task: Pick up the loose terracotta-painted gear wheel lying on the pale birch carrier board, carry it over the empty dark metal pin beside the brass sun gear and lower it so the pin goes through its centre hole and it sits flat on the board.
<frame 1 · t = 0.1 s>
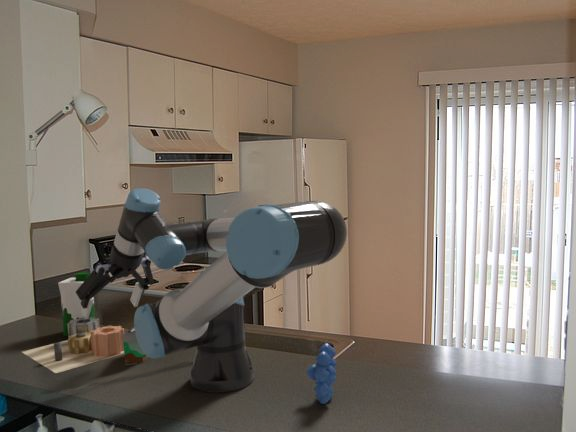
hand: (109, 309, 143), 15 cm above the table, tool tilted 35°, fingers open, 13 cm apart
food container: (143, 364, 146), on the table
planet gear: (108, 351, 152), point 1 cm above the table, touching carrier
grapes: (322, 399, 121), on the table
seated gear: (84, 341, 162), resting on carrier
milk carton: (80, 337, 171), on the table
carrier: (82, 355, 154), on the table
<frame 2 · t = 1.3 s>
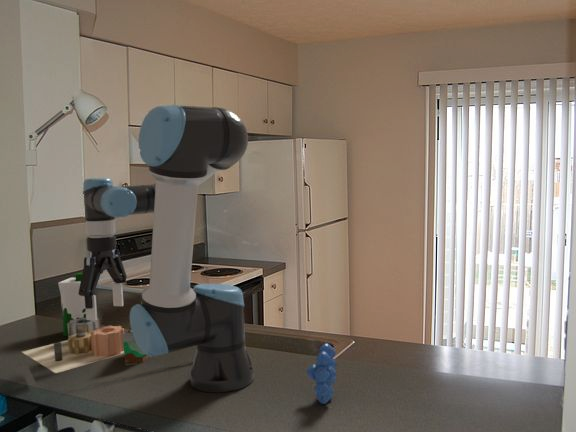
hand: (105, 312, 151), 12 cm above the table, tool pointing down, fingers open, 13 cm apart
nothing on the table moved.
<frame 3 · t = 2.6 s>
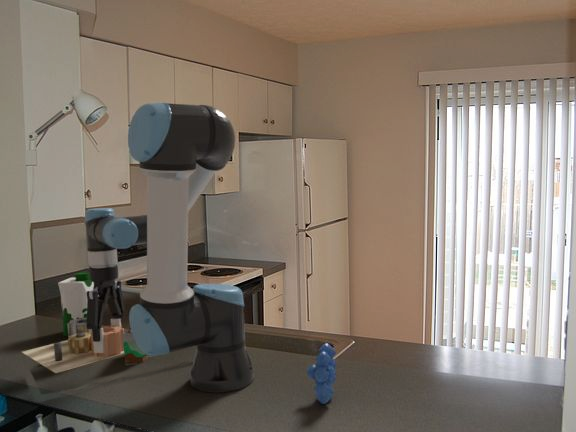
hand: (108, 346, 152), 3 cm above the table, tool pointing down, fingers closed on planet gear, 8 cm apart
planet gear: (108, 351, 152), point 2 cm above the table, touching carrier, gripper
everything else where it was.
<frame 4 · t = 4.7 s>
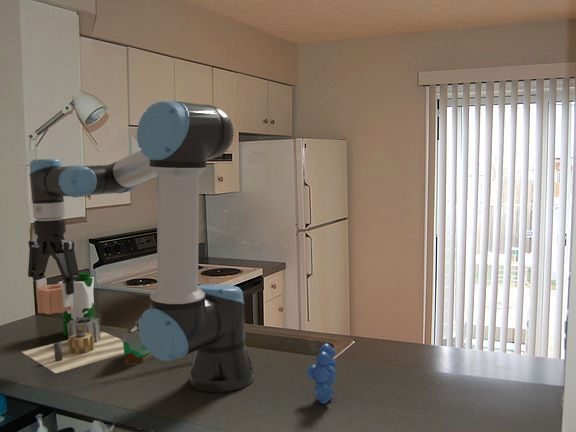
hand: (55, 304, 145), 16 cm above the table, tool pointing down, fingers closed on planet gear, 8 cm apart
planet gear: (55, 309, 145), point 15 cm above the table, touching gripper
everything else where it was.
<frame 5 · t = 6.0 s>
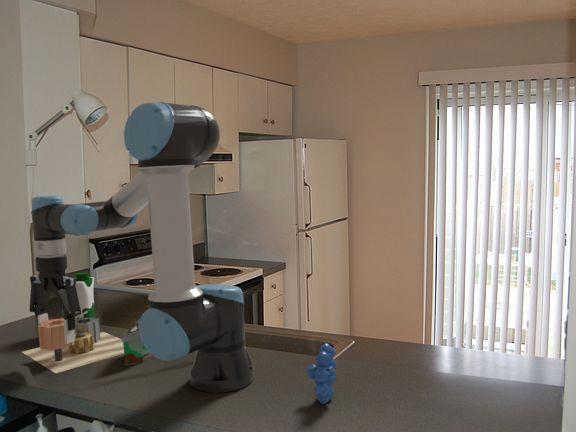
hand: (57, 340, 146), 7 cm above the table, tool pointing down, fingers closed on planet gear, 8 cm apart
planet gear: (57, 345, 146), point 6 cm above the table, touching gripper
everything else where it was.
when the fingers open (4 cm above the table, at t = 6.9 s): planet gear drops 1 cm, resting on carrier.
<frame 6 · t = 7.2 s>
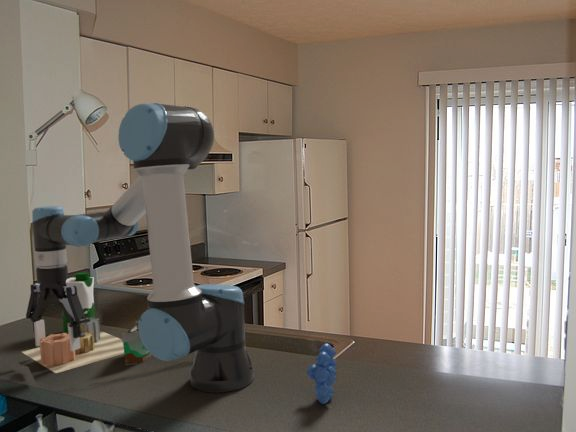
hand: (57, 347, 146), 5 cm above the table, tool pointing down, fingers open, 11 cm apart
planet gear: (58, 360, 146), point 1 cm above the table, touching carrier
everything else where it was.
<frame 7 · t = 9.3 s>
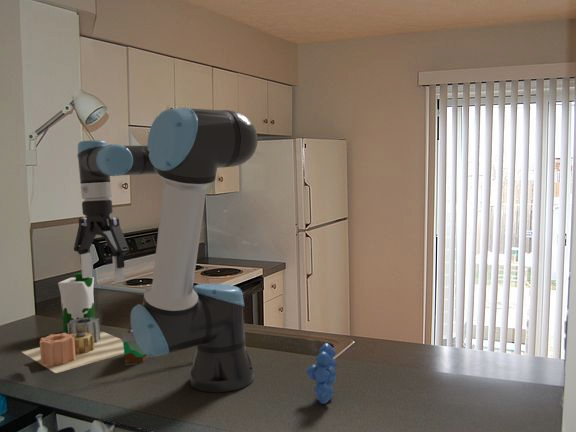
hand: (103, 278, 148), 22 cm above the table, tool pointing down, fingers open, 13 cm apart
nothing on the table moved.
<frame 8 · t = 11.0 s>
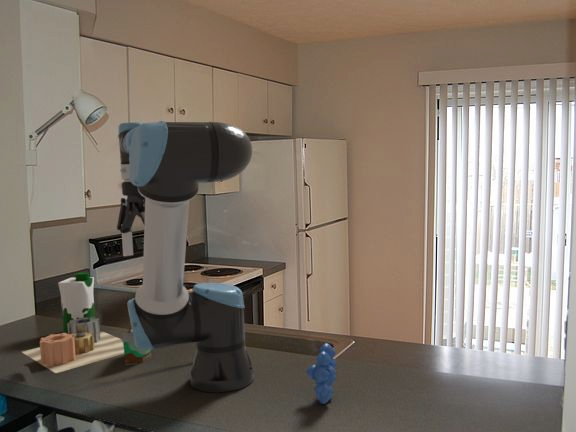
hand: (140, 258, 152), 27 cm above the table, tool pointing down, fingers open, 13 cm apart
nothing on the table moved.
at the end: planet gear 0.0 cm from the target spot on the carrier, point 1.5 cm above the carrier's base; planet gear tilted 0°; the gripper is holding nothing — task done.
